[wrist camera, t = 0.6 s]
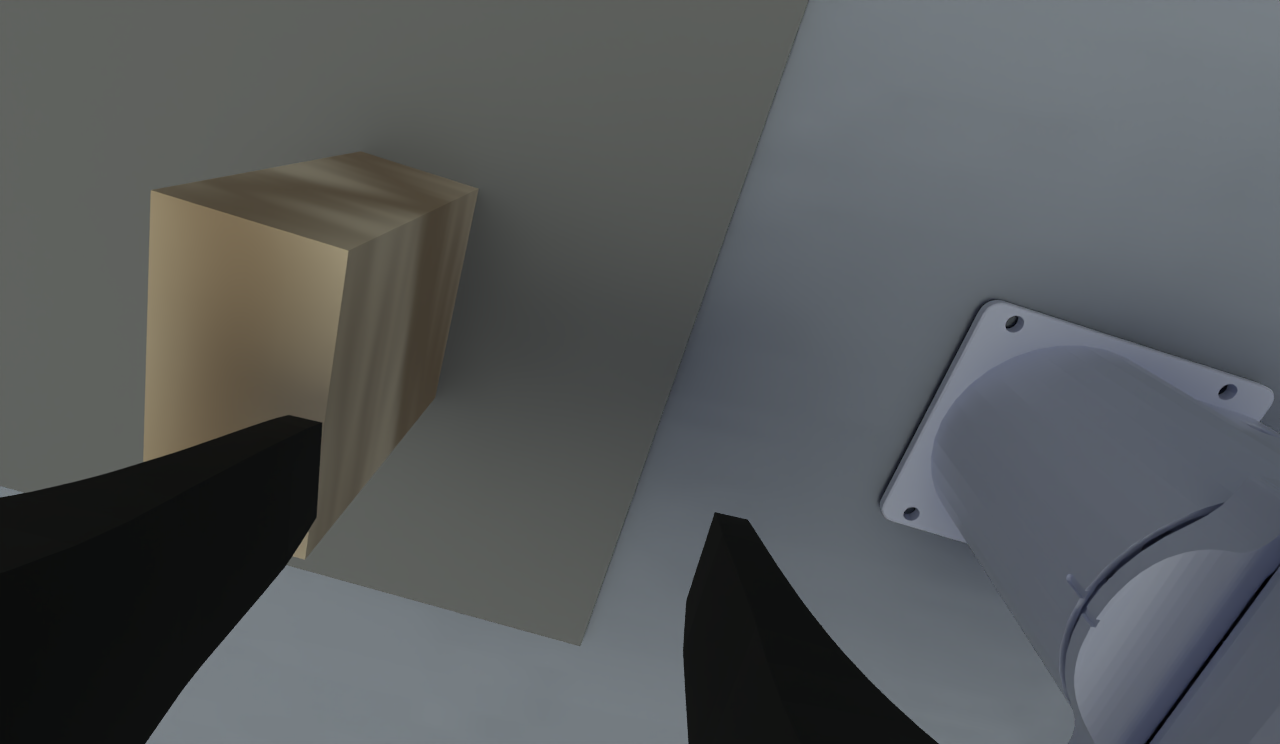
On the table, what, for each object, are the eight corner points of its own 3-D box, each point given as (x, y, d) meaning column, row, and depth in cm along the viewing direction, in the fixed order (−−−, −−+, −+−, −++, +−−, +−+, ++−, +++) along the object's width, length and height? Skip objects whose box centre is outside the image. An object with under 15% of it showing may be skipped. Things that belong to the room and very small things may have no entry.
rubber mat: (825, -52, 18) (828, -55, 17) (581, 638, 27) (580, 646, 26) (-47, -356, 16) (-65, -367, 16) (4, 478, 25) (-6, 484, 25)
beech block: (478, 188, 20) (348, 250, 12) (435, 397, 23) (305, 559, 15) (355, 149, 20) (142, 187, 12) (325, 365, 22) (134, 512, 15)
